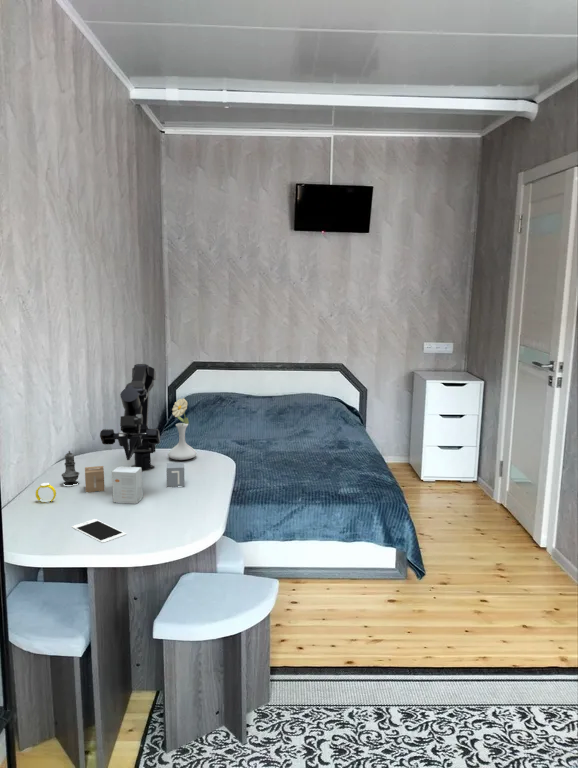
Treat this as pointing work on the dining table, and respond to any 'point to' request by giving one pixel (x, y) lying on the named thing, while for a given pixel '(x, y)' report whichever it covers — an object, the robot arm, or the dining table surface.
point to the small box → (127, 484)
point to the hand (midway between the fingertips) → (128, 459)
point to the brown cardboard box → (94, 479)
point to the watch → (45, 487)
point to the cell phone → (99, 530)
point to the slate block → (175, 474)
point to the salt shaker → (70, 470)
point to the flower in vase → (181, 434)
